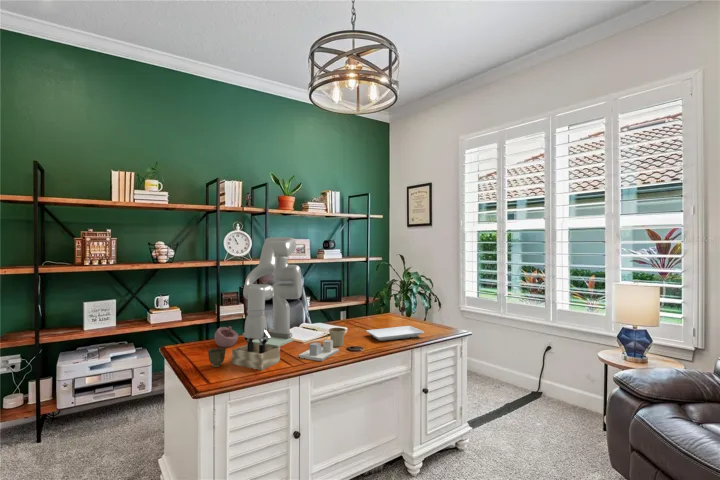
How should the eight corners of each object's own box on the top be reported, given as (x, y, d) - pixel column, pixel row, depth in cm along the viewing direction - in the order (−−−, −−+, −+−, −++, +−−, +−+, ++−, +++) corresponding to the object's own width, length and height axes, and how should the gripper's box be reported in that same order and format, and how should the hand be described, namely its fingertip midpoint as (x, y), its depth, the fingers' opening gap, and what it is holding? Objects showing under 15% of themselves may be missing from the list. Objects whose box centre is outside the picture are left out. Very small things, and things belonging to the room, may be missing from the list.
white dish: (298, 357, 180) (298, 354, 180) (317, 348, 196) (317, 345, 196) (321, 361, 175) (321, 358, 175) (338, 351, 190) (338, 348, 190)
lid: (249, 343, 180) (249, 336, 180) (266, 336, 191) (266, 330, 191) (277, 347, 173) (277, 340, 173) (294, 340, 184) (294, 333, 184)
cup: (211, 364, 170) (211, 347, 170) (227, 364, 171) (227, 346, 171) (205, 370, 163) (205, 352, 163) (222, 369, 163) (222, 351, 163)
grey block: (309, 354, 182) (309, 344, 182) (314, 352, 185) (313, 342, 185) (316, 355, 180) (316, 345, 180) (320, 353, 184) (320, 343, 184)
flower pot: (343, 348, 196) (343, 332, 196) (326, 347, 198) (326, 331, 198) (347, 343, 205) (347, 327, 205) (331, 342, 207) (331, 327, 207)
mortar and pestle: (230, 351, 191) (230, 329, 191) (209, 350, 193) (209, 328, 193) (242, 344, 202) (242, 323, 202) (222, 343, 205) (222, 323, 205)
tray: (425, 337, 220) (425, 331, 220) (377, 343, 207) (377, 336, 207) (410, 330, 235) (410, 325, 235) (365, 335, 223) (365, 330, 223)
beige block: (323, 351, 187) (323, 341, 187) (325, 349, 191) (325, 339, 191) (330, 352, 186) (330, 342, 186) (333, 349, 190) (333, 340, 190)
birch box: (232, 365, 169) (232, 349, 169) (251, 357, 181) (251, 342, 181) (261, 370, 162) (261, 354, 162) (279, 361, 174) (279, 346, 174)
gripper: (236, 313, 172) (236, 352, 171) (266, 316, 164) (265, 356, 164) (247, 310, 178) (247, 348, 178) (276, 313, 171) (276, 352, 171)
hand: (256, 351), depth 171 cm, fingers open, 6 cm apart
